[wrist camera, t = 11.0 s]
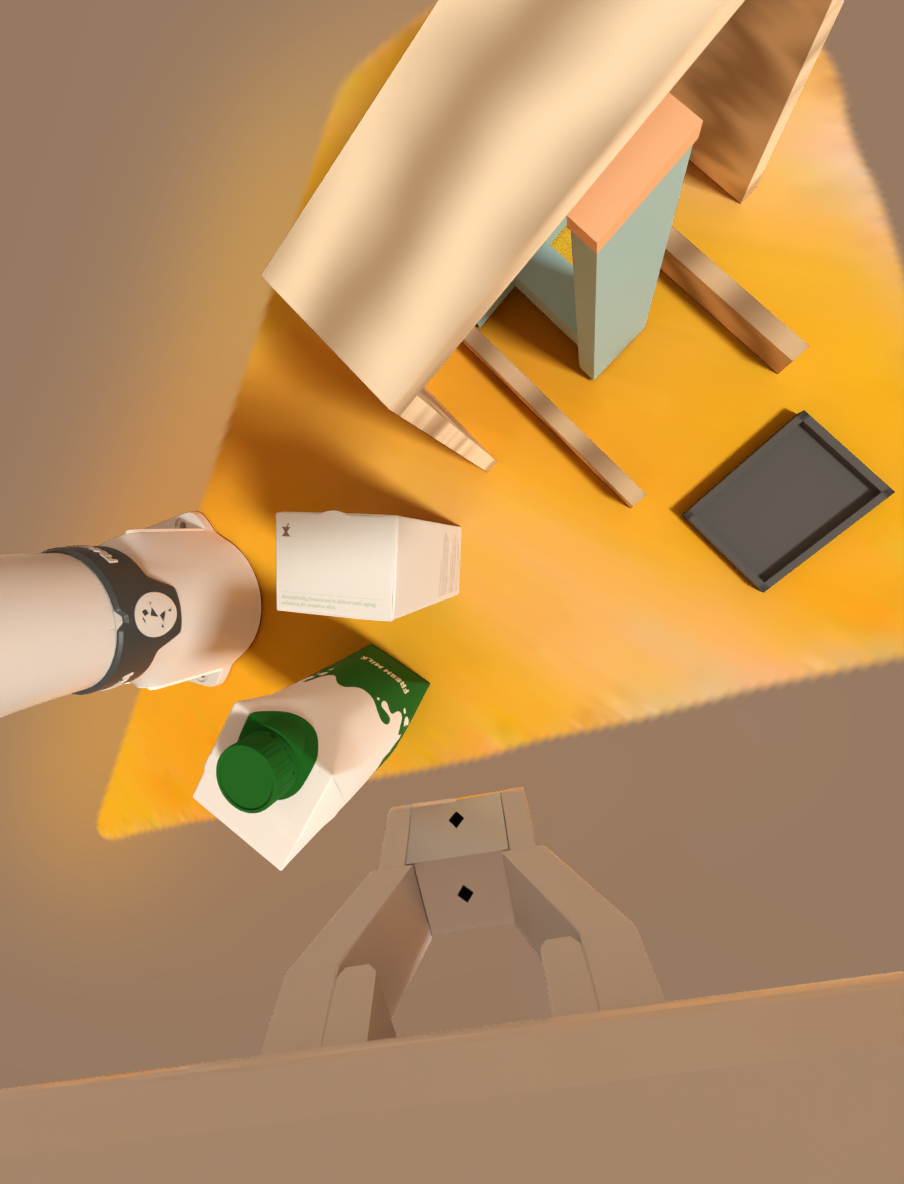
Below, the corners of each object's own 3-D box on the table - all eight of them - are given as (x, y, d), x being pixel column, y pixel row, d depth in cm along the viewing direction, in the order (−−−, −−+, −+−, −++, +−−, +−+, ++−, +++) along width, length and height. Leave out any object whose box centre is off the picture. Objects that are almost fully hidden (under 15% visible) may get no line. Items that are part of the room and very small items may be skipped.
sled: (678, 293, 33) (770, 42, 16) (565, 411, 37) (544, 302, 20) (483, 117, 36) (387, -258, 19) (392, 242, 39) (241, 16, 22)
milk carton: (443, 681, 43) (325, 796, 24) (399, 754, 45) (260, 914, 26) (368, 630, 44) (201, 700, 25) (330, 703, 46) (150, 818, 27)
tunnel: (873, 286, 30) (1360, -144, 11) (573, 560, 38) (556, 583, 19) (526, -5, 34) (445, -695, 15) (316, 296, 42) (85, 92, 23)
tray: (885, 493, 31) (895, 492, 31) (758, 590, 34) (763, 592, 33) (797, 413, 32) (804, 410, 31) (681, 515, 35) (683, 514, 34)
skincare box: (378, 588, 43) (269, 614, 29) (380, 518, 43) (268, 507, 28) (463, 595, 41) (391, 628, 26) (467, 521, 40) (395, 512, 25)
